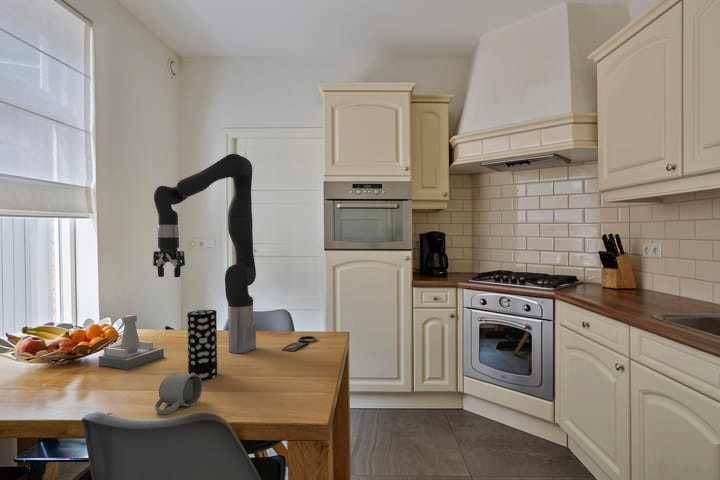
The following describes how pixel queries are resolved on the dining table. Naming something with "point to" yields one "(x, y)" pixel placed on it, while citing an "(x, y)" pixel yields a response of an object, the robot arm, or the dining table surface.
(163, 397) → the ceramic mug
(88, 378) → the dining table surface
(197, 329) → the spotted tube
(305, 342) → the keychain
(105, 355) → the dock
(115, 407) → the dining table surface
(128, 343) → the salt shaker
